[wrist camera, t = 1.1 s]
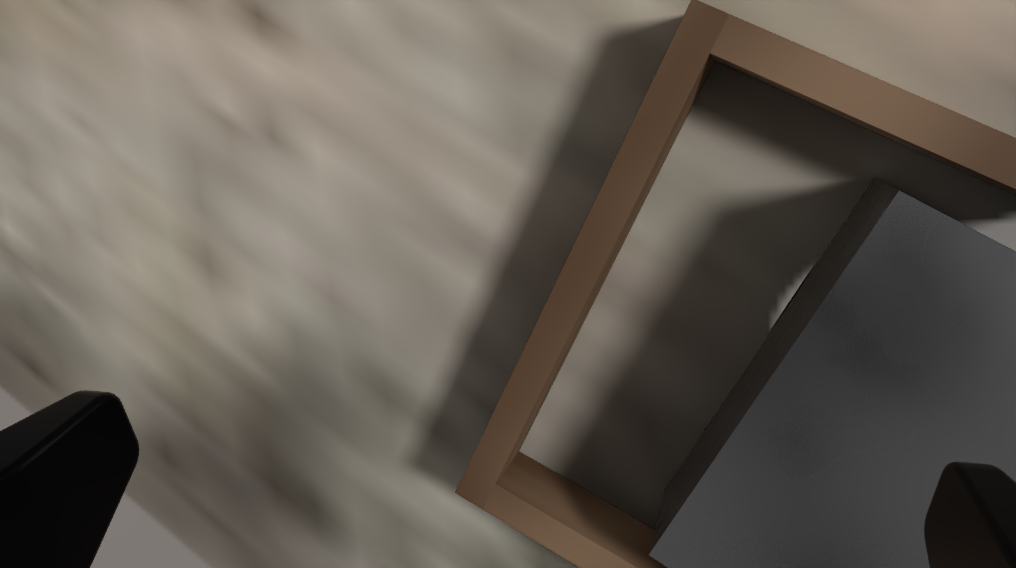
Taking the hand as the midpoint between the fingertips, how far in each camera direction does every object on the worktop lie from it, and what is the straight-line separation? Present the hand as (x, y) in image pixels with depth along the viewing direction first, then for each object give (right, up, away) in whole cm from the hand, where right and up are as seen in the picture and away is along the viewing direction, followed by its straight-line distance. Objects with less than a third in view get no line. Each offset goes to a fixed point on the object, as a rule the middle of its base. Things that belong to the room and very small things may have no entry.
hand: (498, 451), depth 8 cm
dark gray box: (+8, -1, +10) cm, 13 cm away
